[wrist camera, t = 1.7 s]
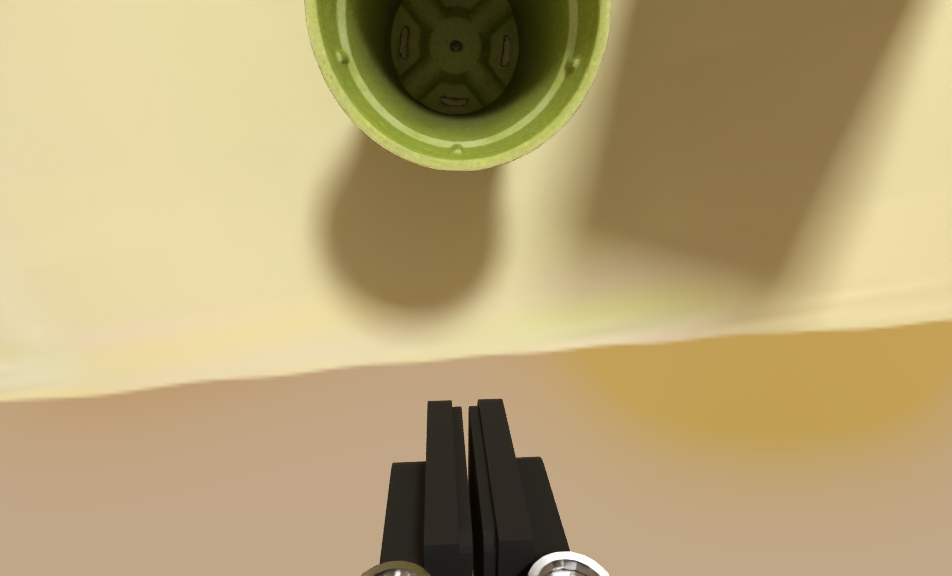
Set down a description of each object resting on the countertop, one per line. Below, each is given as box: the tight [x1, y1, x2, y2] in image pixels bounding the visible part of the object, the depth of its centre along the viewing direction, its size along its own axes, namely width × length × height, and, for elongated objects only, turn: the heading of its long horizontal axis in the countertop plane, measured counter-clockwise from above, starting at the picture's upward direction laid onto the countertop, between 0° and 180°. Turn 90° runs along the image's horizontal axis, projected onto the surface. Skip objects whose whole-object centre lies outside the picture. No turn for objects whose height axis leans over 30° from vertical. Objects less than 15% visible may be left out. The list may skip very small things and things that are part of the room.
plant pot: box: [304, 0, 611, 171], centre depth 20 cm, size 9×9×9 cm
